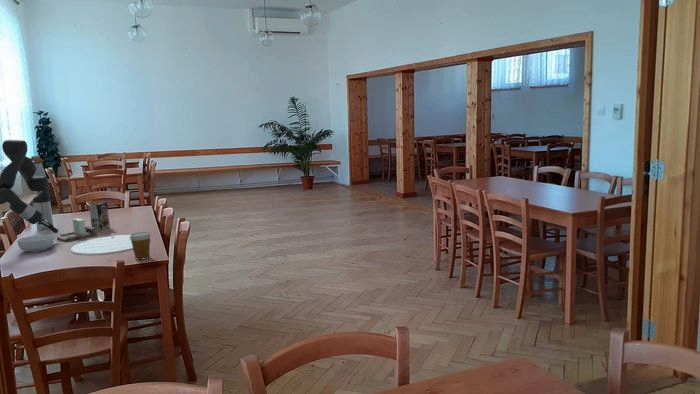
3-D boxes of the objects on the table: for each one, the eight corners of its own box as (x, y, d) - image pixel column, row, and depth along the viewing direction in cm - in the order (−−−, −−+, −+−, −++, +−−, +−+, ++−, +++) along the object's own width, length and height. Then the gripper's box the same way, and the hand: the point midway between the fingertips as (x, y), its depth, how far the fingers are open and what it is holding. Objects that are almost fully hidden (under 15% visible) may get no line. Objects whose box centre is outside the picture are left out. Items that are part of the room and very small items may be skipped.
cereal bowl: (62, 247, 294) (60, 234, 292) (36, 255, 278) (34, 242, 277) (38, 245, 299) (37, 233, 298) (11, 254, 284) (9, 240, 282)
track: (64, 242, 305) (63, 234, 305) (57, 239, 313) (56, 231, 312) (96, 235, 318) (96, 228, 318) (89, 233, 326) (88, 225, 325)
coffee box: (101, 231, 330) (98, 204, 327) (91, 231, 331) (88, 205, 328) (110, 227, 339) (107, 202, 336) (101, 227, 340) (98, 202, 337)
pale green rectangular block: (80, 235, 312) (78, 220, 311) (74, 233, 319) (72, 219, 317) (85, 234, 315) (84, 219, 313) (79, 232, 321) (77, 218, 319)
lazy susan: (74, 242, 306) (74, 236, 305) (148, 233, 320) (148, 227, 319) (67, 259, 269) (66, 253, 269) (151, 249, 283) (150, 242, 283)
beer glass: (135, 256, 269) (132, 232, 267) (155, 254, 270) (152, 231, 268) (129, 261, 260) (126, 237, 258) (149, 260, 261) (147, 235, 259)
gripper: (39, 209, 293) (65, 227, 304) (30, 207, 302) (57, 224, 313) (29, 221, 290) (57, 238, 301) (21, 218, 299) (48, 235, 310)
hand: (57, 231), depth 307 cm, fingers closed
